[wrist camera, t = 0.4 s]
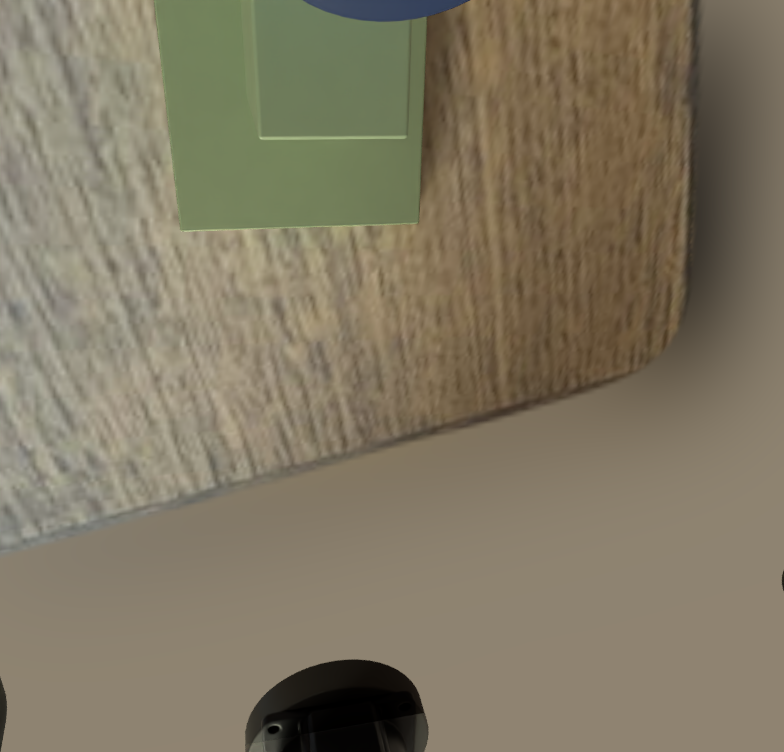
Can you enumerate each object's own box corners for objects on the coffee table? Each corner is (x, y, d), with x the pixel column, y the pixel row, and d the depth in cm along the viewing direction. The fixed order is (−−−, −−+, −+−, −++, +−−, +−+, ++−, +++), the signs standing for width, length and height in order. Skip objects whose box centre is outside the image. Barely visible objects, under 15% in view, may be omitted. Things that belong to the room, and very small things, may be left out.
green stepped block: (411, 216, 19) (497, 307, 13) (182, 223, 18) (161, 326, 12) (421, -41, 16) (534, -76, 10) (150, -53, 15) (103, -99, 9)
